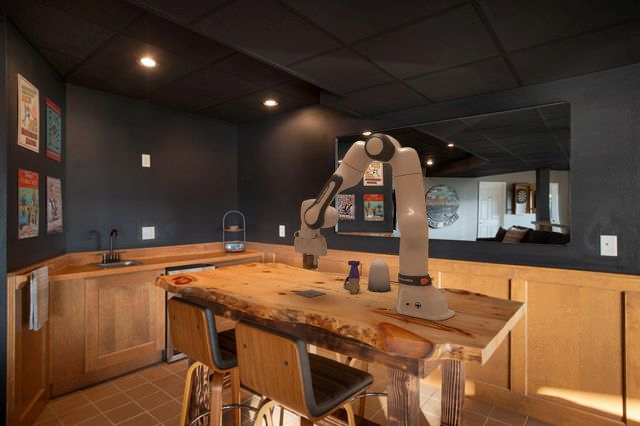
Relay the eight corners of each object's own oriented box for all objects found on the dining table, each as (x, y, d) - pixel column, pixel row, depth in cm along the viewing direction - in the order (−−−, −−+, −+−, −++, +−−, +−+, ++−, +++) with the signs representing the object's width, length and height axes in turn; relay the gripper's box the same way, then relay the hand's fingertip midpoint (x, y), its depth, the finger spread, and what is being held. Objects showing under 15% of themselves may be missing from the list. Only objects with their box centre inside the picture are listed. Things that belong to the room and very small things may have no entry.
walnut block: (317, 268, 168) (317, 255, 168) (309, 269, 164) (309, 256, 164) (311, 267, 171) (311, 254, 171) (302, 268, 168) (302, 255, 168)
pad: (325, 294, 168) (325, 293, 168) (308, 298, 161) (308, 296, 161) (312, 290, 175) (312, 289, 175) (295, 293, 169) (295, 292, 169)
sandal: (359, 285, 187) (359, 256, 186) (360, 295, 167) (360, 262, 167) (343, 285, 187) (343, 256, 187) (342, 294, 168) (342, 262, 167)
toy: (390, 287, 181) (390, 257, 181) (391, 292, 170) (391, 261, 170) (368, 286, 183) (368, 257, 183) (367, 291, 172) (367, 260, 172)
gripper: (330, 235, 162) (330, 265, 162) (302, 232, 177) (302, 260, 178) (319, 235, 158) (319, 267, 158) (291, 233, 173) (291, 261, 173)
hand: (310, 263), depth 168 cm, fingers closed on walnut block, 5 cm apart
